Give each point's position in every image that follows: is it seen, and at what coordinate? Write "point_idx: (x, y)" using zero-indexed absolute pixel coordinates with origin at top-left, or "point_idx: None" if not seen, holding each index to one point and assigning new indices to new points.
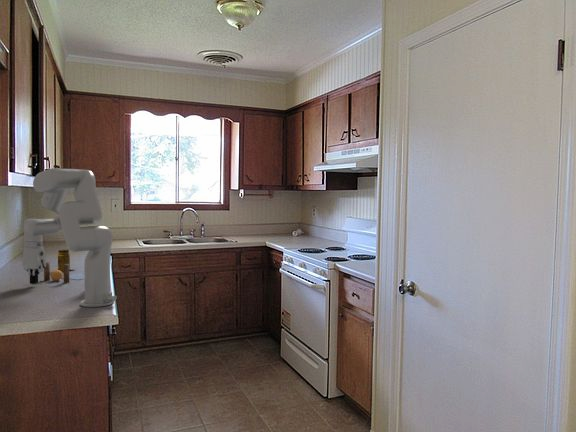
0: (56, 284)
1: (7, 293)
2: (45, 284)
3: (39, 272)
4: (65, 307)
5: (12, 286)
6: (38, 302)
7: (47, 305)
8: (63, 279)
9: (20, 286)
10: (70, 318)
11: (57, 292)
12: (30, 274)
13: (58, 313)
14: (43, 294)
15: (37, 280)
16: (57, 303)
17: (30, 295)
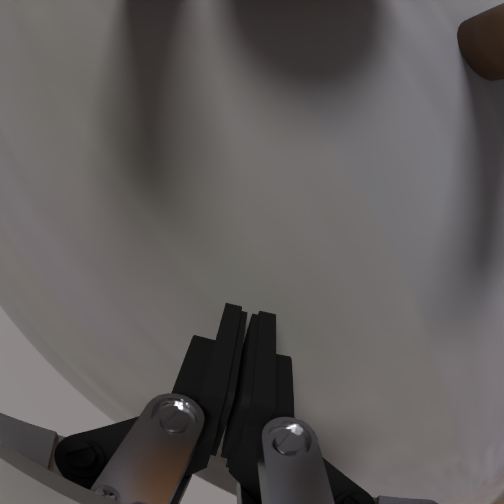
0: (446, 162)
1: (222, 481)
2: (308, 176)
3: (349, 485)
4: (500, 483)
5: (52, 325)
6: (437, 500)
7: (464, 498)
8: (487, 48)
9: (105, 323)
10: (499, 498)
11: (497, 414)
12: (194, 470)
13: (484, 501)
14: (437, 459)
15: (288, 365)
16: (487, 481)
17: (379, 484)
